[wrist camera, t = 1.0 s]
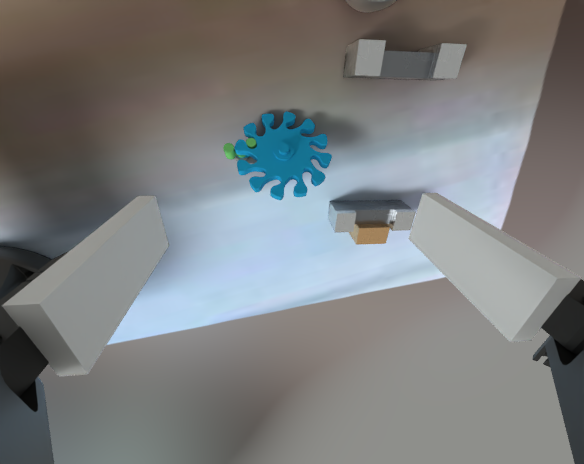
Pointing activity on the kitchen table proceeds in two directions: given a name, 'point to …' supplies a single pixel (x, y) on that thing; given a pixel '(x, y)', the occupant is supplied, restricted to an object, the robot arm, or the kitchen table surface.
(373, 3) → the plastic bottle
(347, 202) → the support blocks
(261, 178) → the gear
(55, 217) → the kitchen table surface
